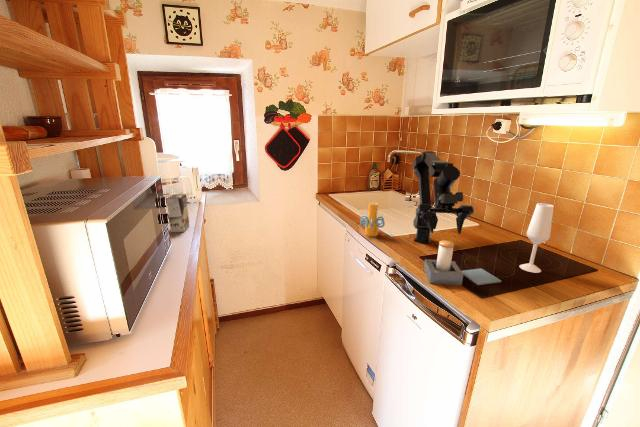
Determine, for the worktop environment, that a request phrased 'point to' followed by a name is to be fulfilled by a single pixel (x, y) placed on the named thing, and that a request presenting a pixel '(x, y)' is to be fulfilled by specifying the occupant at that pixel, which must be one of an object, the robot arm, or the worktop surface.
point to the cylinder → (372, 221)
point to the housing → (443, 273)
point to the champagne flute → (538, 232)
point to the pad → (480, 276)
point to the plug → (444, 255)
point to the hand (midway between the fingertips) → (445, 233)
